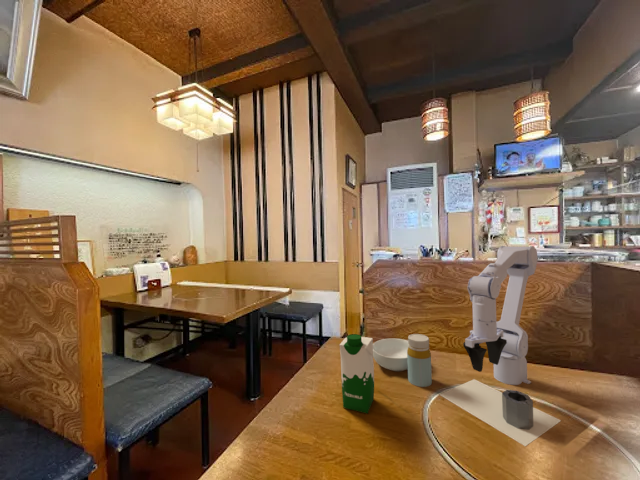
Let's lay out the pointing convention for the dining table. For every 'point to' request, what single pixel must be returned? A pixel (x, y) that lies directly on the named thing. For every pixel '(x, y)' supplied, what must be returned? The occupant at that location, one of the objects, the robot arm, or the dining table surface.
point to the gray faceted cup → (517, 409)
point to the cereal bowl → (391, 353)
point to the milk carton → (357, 372)
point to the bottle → (419, 360)
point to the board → (496, 410)
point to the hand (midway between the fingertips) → (485, 366)
